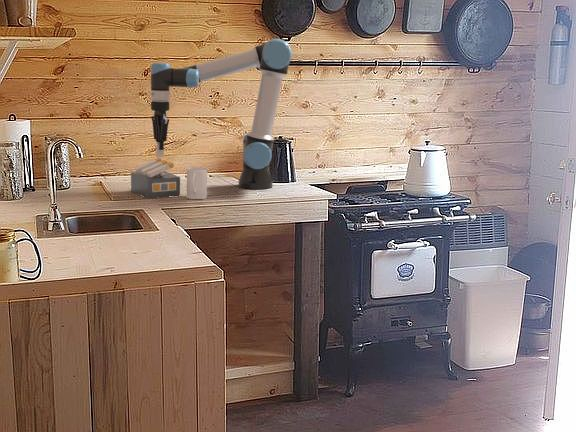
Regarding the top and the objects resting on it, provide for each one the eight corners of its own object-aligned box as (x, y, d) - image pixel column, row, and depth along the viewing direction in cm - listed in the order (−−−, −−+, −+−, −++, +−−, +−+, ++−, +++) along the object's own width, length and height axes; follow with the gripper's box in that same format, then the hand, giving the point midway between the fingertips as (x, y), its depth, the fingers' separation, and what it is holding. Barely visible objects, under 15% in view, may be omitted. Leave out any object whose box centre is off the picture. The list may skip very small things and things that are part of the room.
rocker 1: (159, 161, 322) (157, 157, 322) (162, 162, 320) (160, 158, 319) (136, 171, 318) (134, 168, 317) (139, 172, 315) (137, 169, 314)
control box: (162, 188, 327) (162, 165, 325) (180, 196, 312) (180, 172, 310) (131, 191, 320) (130, 167, 318) (148, 199, 305) (148, 174, 303)
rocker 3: (170, 165, 313) (169, 162, 312) (174, 166, 310) (172, 163, 309) (147, 176, 308) (146, 172, 307) (150, 177, 305) (149, 173, 305)
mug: (201, 202, 303) (201, 172, 300) (180, 200, 305) (180, 170, 302) (209, 196, 314) (210, 167, 312) (189, 195, 316) (190, 166, 313)
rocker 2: (164, 163, 318) (163, 159, 317) (168, 164, 315) (166, 161, 314) (141, 173, 313) (140, 170, 312) (144, 175, 310) (143, 171, 310)
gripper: (145, 99, 319) (145, 155, 324) (158, 102, 308) (158, 160, 313) (162, 99, 323) (162, 154, 328) (175, 102, 312) (174, 159, 317)
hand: (160, 157), depth 321 cm, fingers closed
